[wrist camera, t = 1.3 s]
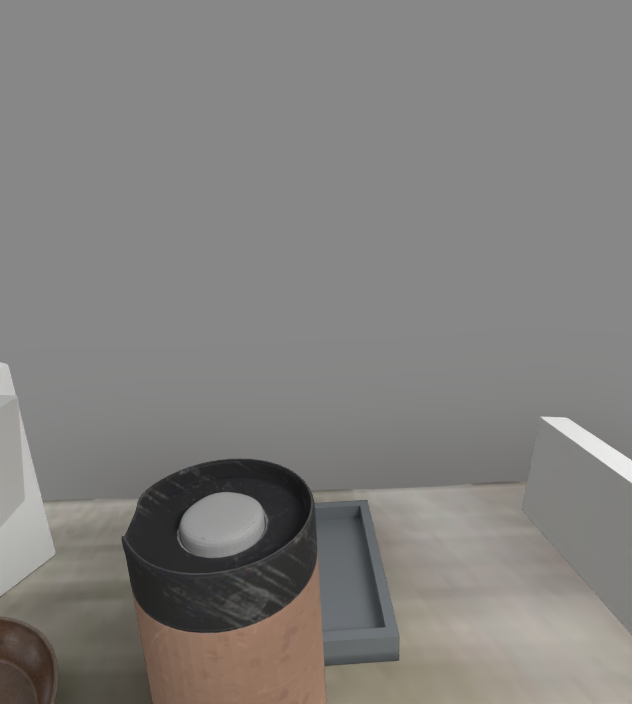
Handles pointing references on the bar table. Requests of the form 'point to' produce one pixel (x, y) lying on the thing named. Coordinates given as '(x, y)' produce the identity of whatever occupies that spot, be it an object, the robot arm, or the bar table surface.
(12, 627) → the plant saucer
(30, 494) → the milk
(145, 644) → the travel mug
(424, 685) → the bar table surface
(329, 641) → the tray
